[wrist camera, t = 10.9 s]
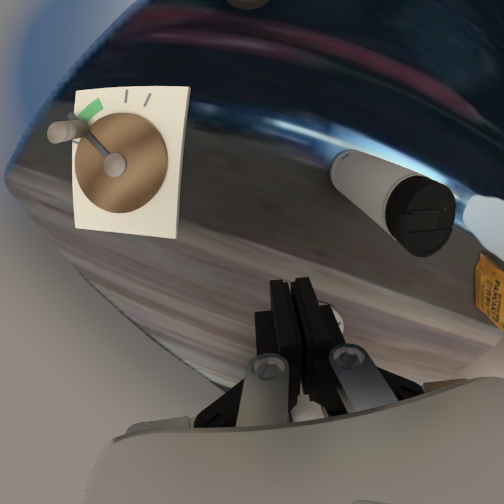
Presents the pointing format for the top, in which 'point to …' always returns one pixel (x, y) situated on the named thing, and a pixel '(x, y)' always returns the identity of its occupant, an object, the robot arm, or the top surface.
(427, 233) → the travel mug
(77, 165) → the dial
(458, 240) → the top surface
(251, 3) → the candle holder
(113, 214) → the dial plate
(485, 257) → the pancake mix bag
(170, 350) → the top surface
